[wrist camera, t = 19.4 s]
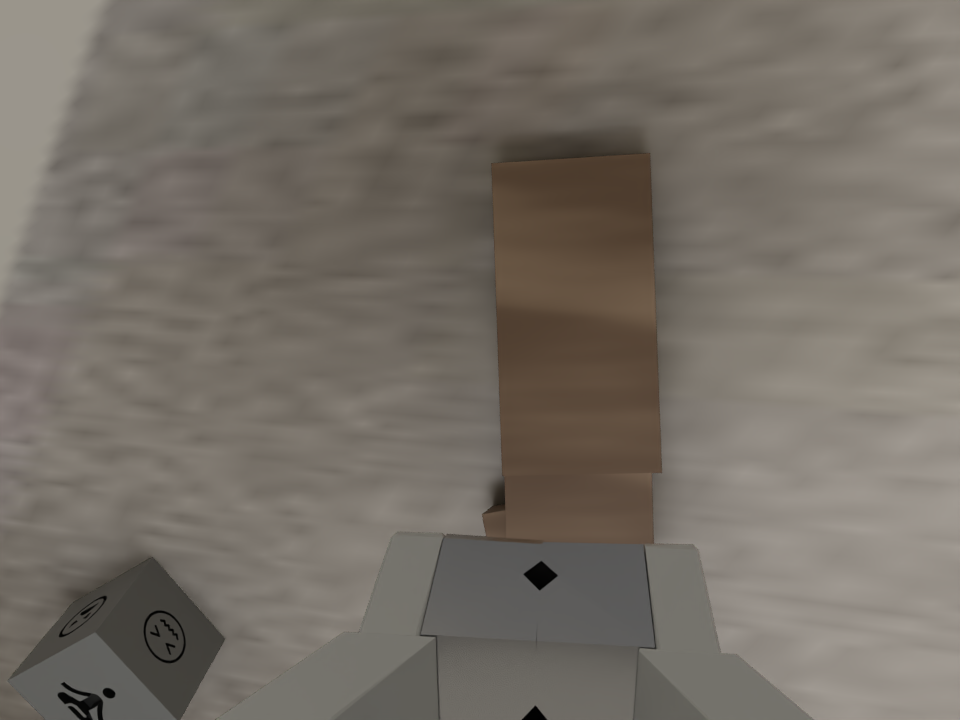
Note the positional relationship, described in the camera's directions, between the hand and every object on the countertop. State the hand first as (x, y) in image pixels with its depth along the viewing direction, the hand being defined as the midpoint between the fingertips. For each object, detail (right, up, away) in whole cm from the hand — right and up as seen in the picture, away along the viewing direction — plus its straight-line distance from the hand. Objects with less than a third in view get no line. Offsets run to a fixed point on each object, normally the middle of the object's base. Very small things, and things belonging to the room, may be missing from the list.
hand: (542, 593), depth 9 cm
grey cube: (-15, -9, +31) cm, 36 cm away
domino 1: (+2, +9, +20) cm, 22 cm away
